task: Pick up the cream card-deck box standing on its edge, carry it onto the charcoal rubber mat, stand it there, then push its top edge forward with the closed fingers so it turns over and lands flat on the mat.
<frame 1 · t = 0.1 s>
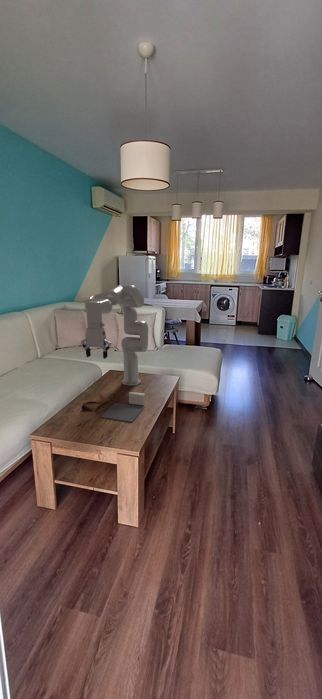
hand: (96, 357, 172), 31 cm above the table, tool pointing down, fingers open, 9 cm apart
mat: (123, 412, 179), on the table
sunglasses case: (96, 405, 189), on the table
deck: (137, 403, 190), on the table
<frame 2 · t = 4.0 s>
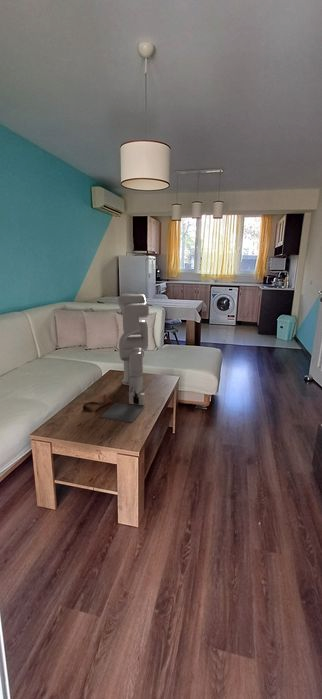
hand: (137, 402, 190), 1 cm above the table, tool pointing down, fingers closed on deck, 2 cm apart
sunglasses case: (99, 406, 188), on the table
deck: (137, 403, 190), on the table, touching gripper
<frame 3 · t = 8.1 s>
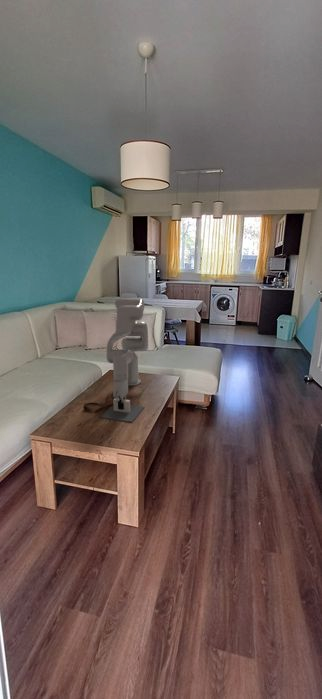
hand: (122, 407, 179), 2 cm above the table, tool pointing down, fingers closed on deck, 2 cm apart
sunglasses case: (101, 407, 187), on the table
deck: (122, 410, 180), point 1 cm above the table, touching gripper, mat
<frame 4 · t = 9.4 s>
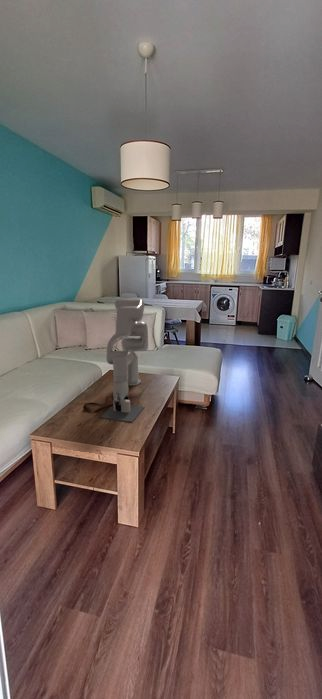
hand: (122, 407, 179), 3 cm above the table, tool pointing down, fingers open, 9 cm apart
deck: (122, 410, 180), point 1 cm above the table, touching mat
everything else where it was.
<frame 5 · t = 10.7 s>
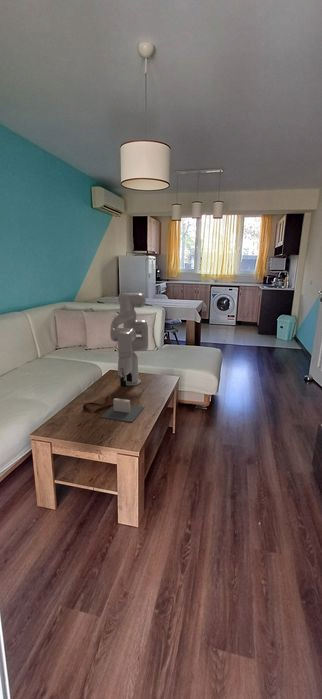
hand: (126, 383, 183), 14 cm above the table, tool pointing down, fingers open, 7 cm apart
nothing on the table moved.
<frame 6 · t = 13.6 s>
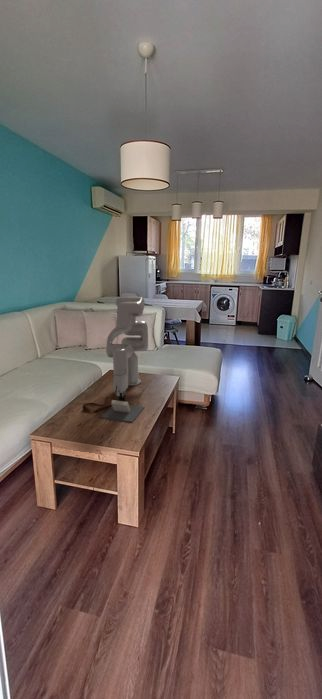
hand: (122, 402, 179), 5 cm above the table, tool pointing down, fingers closed
deck: (122, 410, 179), point 1 cm above the table, tilted 26°, touching mat
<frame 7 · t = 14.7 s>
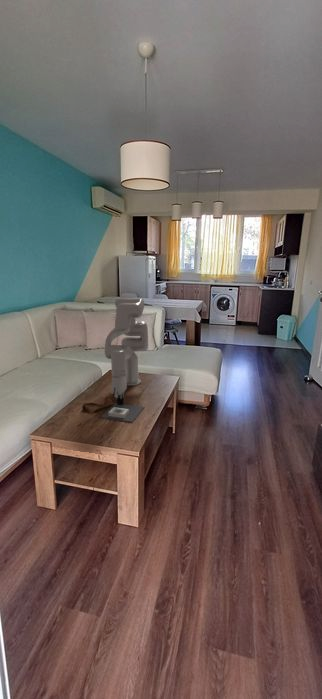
hand: (120, 404, 177), 5 cm above the table, tool pointing down, fingers closed
sunglasses case: (100, 408, 186), on the table, touching mat
deck: (121, 409, 178), point 2 cm above the table, tilted 90°, touching mat
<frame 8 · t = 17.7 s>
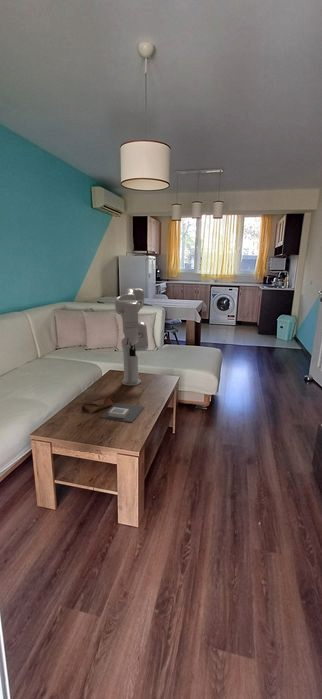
hand: (132, 355, 188), 27 cm above the table, tool pointing down, fingers closed
at the end: deck tilted 90°; deck inside the target area on the mat (1.0 cm from its centre), point 1.7 cm above the mat's base; the gripper is holding nothing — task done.
